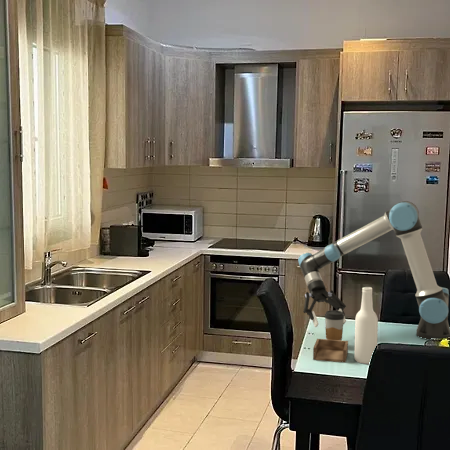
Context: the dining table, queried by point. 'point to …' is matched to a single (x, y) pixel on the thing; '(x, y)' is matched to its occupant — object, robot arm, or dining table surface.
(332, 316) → the coffee cup
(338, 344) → the cup holder
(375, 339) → the white bottle
